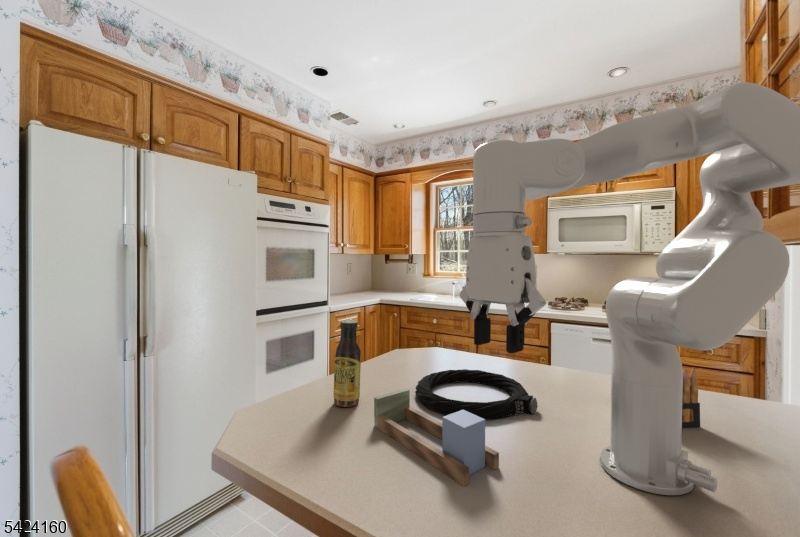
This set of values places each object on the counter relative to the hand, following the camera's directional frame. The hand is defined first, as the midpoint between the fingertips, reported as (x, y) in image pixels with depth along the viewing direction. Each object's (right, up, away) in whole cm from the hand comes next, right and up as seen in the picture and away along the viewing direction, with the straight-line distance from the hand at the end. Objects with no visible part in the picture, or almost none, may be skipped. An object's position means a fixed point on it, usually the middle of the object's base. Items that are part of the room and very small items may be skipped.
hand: (497, 346), depth 55 cm
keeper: (-4, -21, +6) cm, 23 cm away
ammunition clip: (+41, -21, +20) cm, 51 cm away
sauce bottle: (-28, -21, +32) cm, 47 cm away
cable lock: (+4, -21, +36) cm, 42 cm away
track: (-9, -21, +13) cm, 26 cm away
